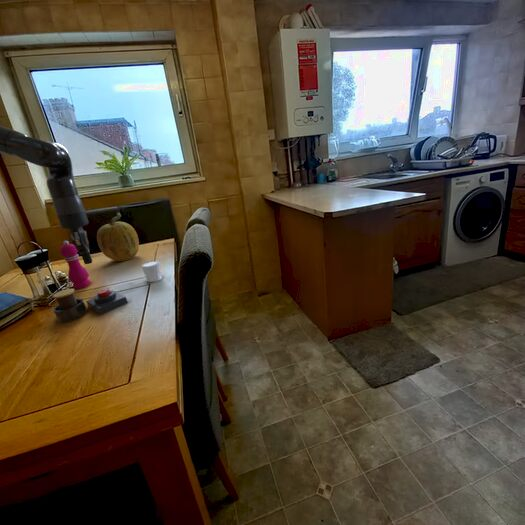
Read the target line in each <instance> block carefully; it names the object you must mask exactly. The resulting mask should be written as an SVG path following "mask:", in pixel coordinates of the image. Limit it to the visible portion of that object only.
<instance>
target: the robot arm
mask: <svg viewBox="0 0 525 525" xmlns="http://www.w3.org/2000/svg"><path fill="white" fill-rule="evenodd" d="M0 153H1V154H4V155H7V156H11V157H13V158H14V157H15V158H19V159H21V160H22V161H23V160H24V161H26V162H28V163H31V164H33V165H36V166H39V167H42V168H47V170H48V175H49V177H48V178H47V179H46V187H47V189H48V192H49V194H50V198H51V200H52V205H53V209H54V211H55V215H56V216H57V220H58V222H59V225H60V227H61V229H63V230H68V229H69V230H70V232H71V233H70V234H69V236H70V238H71V240H72V244H73V245H74V246H75V247H76V249H77V251H78V252H77V254H79V255H81V258H82V261H83V263H84V265H90V264H93V259H92V255H91V253H90V243H89V239H88V235H87V234H88V233H87V230H85V229H84V228H83V227H84V226H87V225H89V224H90V221H89V219H88V215H87V213H86V210H85V207H84V203H83V201H82V199H81V197H80V194H79V191H78V188H77V185H76V183H75V180H74V168H73V162H72V158H71V156H70V153H69V152H68V150H67V149H66V147H65V146H63V145H62V144H60V143H58V142H51V141H46V140H41V139H39V138H35V137H32V136H27V135H26V134H25V133H22V132H20V131H17V130H15V129H11V128H8V127H5V126H2V125H0Z"/></svg>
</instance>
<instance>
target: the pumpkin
mask: <svg viewBox="0 0 525 525" xmlns="http://www.w3.org/2000/svg"><path fill="white" fill-rule="evenodd" d="M121 217H122V215H121V213H120V212H116V216H114V217H112V218H111V219H110V222H109V223H107V224H104V225H102V226H101V227H100V228H99V229H98V230H97V233H96V241H97V245H98V248H99V249H100V251H101V252H102V254H103V255H104V256H105V257H106V258H108V259H111V260H112V261H115V262H124V261H128V260H130V259H133V258H134V257H135V256H136V255H137V254H138V253H139V251H140V250H139V249H140V241H139V236H138V233H137V230H135V228H134V227H133V226H132V225H131V224H129V223H127V222H124V221H117V220H120V218H121Z"/></svg>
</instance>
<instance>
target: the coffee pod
mask: <svg viewBox="0 0 525 525" xmlns="http://www.w3.org/2000/svg"><path fill="white" fill-rule="evenodd" d="M52 297H53V298H54V299H56V301H57V305H59V306H60V309H61V310H66V309H70V308H72V307H75V306H76V305H78V303H77V301H76V299H77V298H76V296H75V289H74V288H65V289H62V290H60V291H57V292H55V293H54V294H53V295H52Z"/></svg>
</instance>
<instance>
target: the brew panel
mask: <svg viewBox="0 0 525 525" xmlns="http://www.w3.org/2000/svg"><path fill="white" fill-rule="evenodd" d="M109 291H110V295H108V296H106V297H102V298H99V296H98V293H97V294H96V295H94V297H92V298H90V299H87V300H86V304H87V306H88V308H90V309H91V310H93V311H94V312H96V313H97V314H99V315H104V314H106V313H109V312H110V311H113V310H115V309H118V308H120V307H121V306H123V305H126V304H128V302H129V301H128V299H127V296H125V295H123V294H121V293H119V292H117V291H115V290H114V289H113V290H111V289H109Z"/></svg>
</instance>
